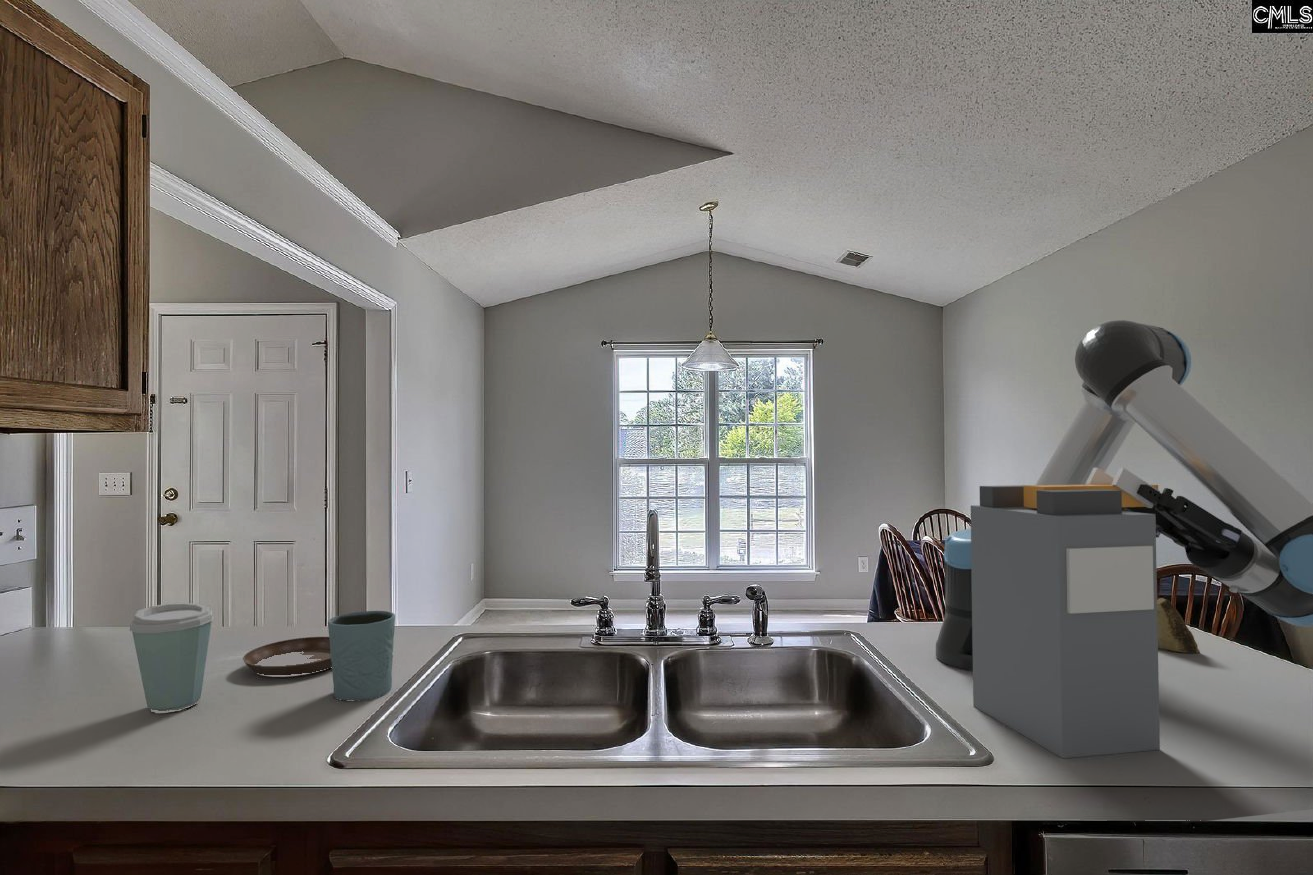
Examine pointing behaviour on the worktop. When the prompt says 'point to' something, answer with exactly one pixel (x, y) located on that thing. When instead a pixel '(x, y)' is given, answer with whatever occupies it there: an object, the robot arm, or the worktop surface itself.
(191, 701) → the disposable coffee cup
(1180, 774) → the worktop surface
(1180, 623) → the rock
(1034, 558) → the breaker panel
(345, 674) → the teal embossed cup
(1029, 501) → the handle
